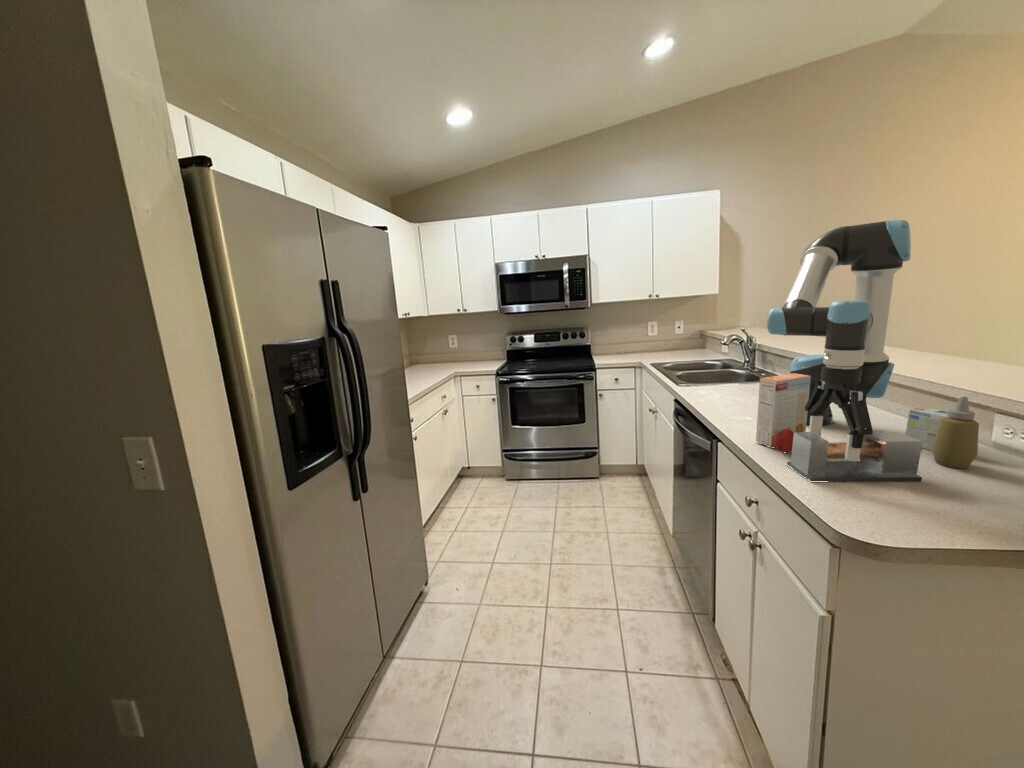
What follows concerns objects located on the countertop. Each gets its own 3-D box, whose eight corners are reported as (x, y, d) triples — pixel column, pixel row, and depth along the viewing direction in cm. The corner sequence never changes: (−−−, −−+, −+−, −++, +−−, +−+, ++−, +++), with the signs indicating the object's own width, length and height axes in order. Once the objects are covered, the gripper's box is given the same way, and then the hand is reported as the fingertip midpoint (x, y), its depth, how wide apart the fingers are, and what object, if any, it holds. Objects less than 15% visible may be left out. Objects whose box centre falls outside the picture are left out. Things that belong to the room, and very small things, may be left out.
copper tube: (798, 455, 105) (800, 439, 104) (873, 454, 103) (875, 438, 102) (809, 462, 100) (811, 445, 99) (887, 461, 99) (889, 444, 98)
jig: (786, 465, 108) (790, 430, 106) (886, 464, 106) (892, 428, 104) (810, 482, 99) (815, 443, 96) (921, 481, 96) (928, 442, 94)
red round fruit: (775, 455, 115) (778, 429, 113) (770, 448, 120) (773, 423, 119) (800, 457, 113) (802, 430, 111) (793, 450, 118) (796, 424, 117)
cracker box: (787, 436, 130) (793, 372, 126) (805, 442, 124) (812, 375, 120) (753, 442, 126) (759, 376, 121) (771, 449, 120) (777, 380, 116)
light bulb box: (965, 452, 112) (973, 414, 110) (949, 455, 110) (956, 417, 108) (918, 440, 122) (923, 405, 120) (902, 443, 120) (908, 408, 118)
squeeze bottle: (965, 473, 100) (979, 402, 96) (922, 462, 107) (934, 396, 103) (981, 466, 103) (995, 398, 99) (938, 456, 110) (949, 392, 106)
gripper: (794, 358, 110) (787, 432, 114) (865, 377, 85) (852, 470, 90) (823, 357, 109) (815, 431, 113) (903, 375, 85) (888, 469, 89)
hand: (831, 448), depth 102 cm, fingers open, 13 cm apart
